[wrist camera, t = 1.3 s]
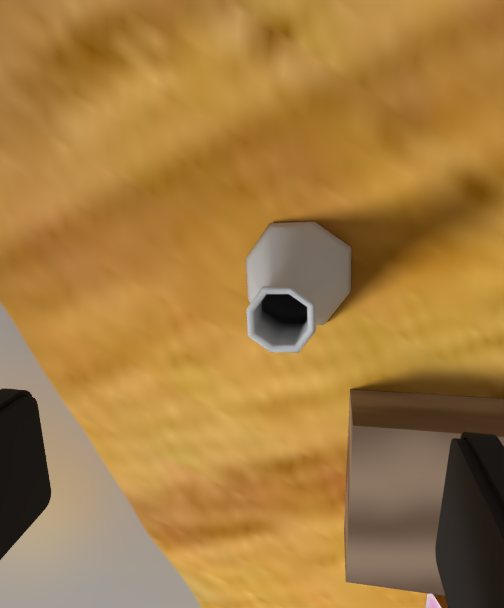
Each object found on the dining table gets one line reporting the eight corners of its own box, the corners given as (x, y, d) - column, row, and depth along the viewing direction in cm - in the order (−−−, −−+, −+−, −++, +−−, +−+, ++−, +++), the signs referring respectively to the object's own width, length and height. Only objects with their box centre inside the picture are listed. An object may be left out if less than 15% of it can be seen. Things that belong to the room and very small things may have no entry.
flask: (260, 205, 27) (222, 218, 18) (369, 237, 27) (389, 268, 17) (233, 307, 30) (187, 366, 20) (333, 338, 29) (333, 415, 20)
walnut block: (349, 387, 30) (352, 425, 25) (536, 398, 28) (577, 442, 23) (344, 525, 33) (345, 581, 29) (510, 544, 31) (541, 609, 27)
